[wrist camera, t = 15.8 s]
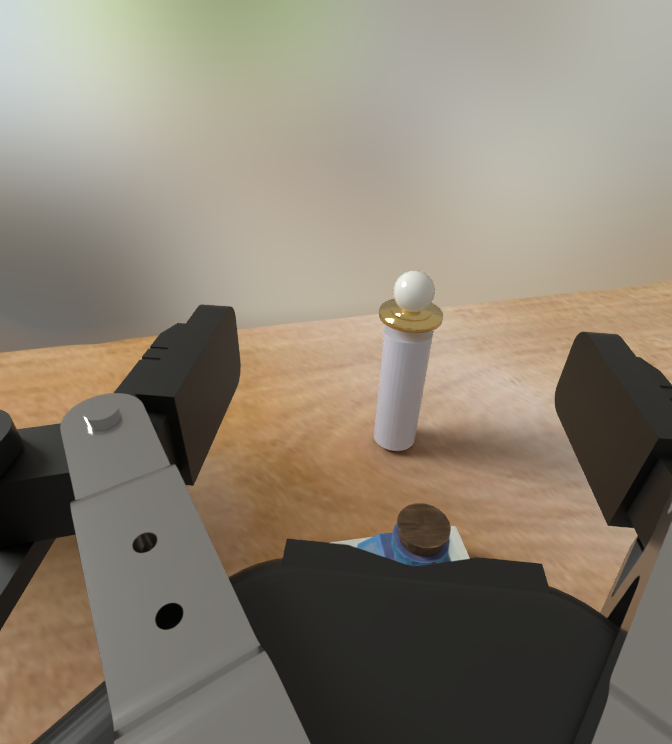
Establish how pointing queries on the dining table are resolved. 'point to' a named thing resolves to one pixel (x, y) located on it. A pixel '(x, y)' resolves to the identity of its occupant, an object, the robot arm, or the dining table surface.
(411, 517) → the perfume bottle
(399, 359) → the perfume bottle
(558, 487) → the dining table surface
